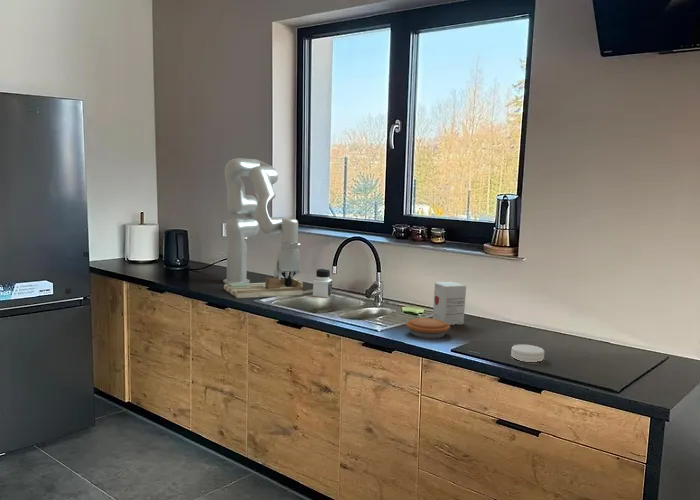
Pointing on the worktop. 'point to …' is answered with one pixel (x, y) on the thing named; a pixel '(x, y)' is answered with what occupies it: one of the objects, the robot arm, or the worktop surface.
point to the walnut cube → (272, 283)
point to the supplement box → (449, 302)
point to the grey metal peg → (276, 274)
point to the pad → (237, 285)
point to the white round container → (527, 353)
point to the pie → (427, 327)
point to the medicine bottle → (322, 283)
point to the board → (265, 290)
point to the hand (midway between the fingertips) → (287, 286)
